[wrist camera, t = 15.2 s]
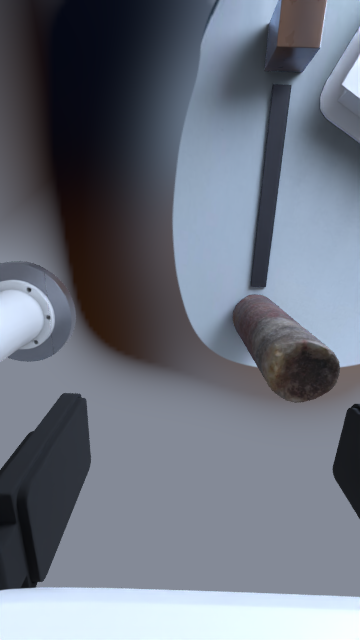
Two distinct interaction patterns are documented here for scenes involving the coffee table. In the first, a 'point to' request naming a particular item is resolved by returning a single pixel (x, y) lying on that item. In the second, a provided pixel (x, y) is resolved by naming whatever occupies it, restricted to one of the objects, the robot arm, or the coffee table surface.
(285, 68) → the walnut block
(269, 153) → the strip
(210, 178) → the coffee table surface
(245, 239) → the coffee table surface
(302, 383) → the brown weathered cylinder
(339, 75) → the white flat lidded device
